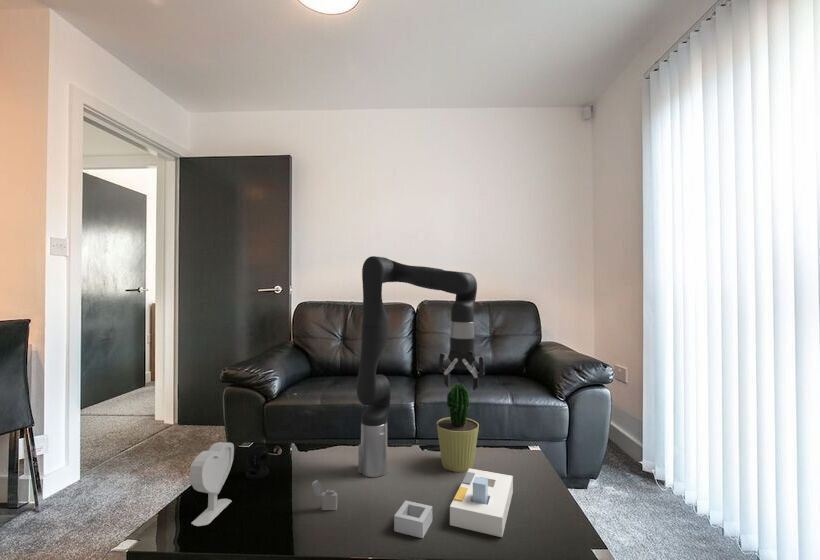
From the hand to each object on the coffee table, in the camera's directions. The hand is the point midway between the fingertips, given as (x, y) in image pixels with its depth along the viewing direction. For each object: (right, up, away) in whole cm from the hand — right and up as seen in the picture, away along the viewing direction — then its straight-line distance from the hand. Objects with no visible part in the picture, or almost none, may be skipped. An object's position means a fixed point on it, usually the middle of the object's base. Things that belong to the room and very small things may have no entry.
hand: (461, 388), depth 120 cm
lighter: (-41, -33, -8) cm, 53 cm away
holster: (-15, -33, -16) cm, 39 cm away
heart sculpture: (-73, -33, -10) cm, 80 cm away
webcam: (-68, -34, +12) cm, 77 cm away
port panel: (+6, -33, -7) cm, 34 cm away
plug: (+4, -33, -11) cm, 35 cm away
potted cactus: (+1, -34, +21) cm, 40 cm away
